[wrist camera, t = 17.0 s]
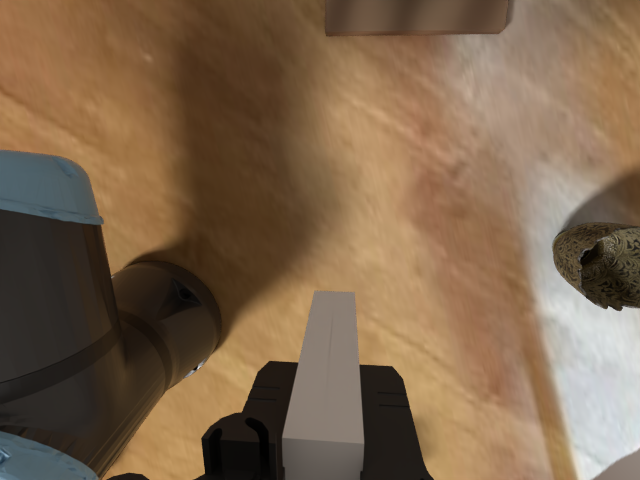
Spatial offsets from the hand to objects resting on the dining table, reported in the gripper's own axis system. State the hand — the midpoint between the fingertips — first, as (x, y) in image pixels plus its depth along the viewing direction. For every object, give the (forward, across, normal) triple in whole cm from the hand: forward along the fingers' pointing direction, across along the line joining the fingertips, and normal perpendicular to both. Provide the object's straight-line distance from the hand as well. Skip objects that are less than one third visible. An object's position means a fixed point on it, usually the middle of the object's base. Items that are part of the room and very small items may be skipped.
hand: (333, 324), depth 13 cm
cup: (+25, -24, +3) cm, 35 cm away
